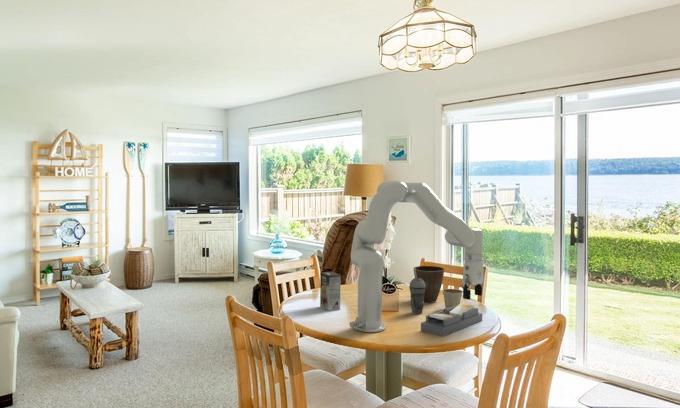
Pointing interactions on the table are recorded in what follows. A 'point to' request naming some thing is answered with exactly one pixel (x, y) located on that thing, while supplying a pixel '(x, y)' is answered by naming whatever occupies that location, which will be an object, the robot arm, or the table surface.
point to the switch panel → (450, 322)
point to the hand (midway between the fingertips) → (472, 297)
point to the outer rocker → (461, 309)
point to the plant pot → (430, 281)
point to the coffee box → (330, 291)
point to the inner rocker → (440, 316)
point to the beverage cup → (417, 294)
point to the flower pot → (452, 297)
